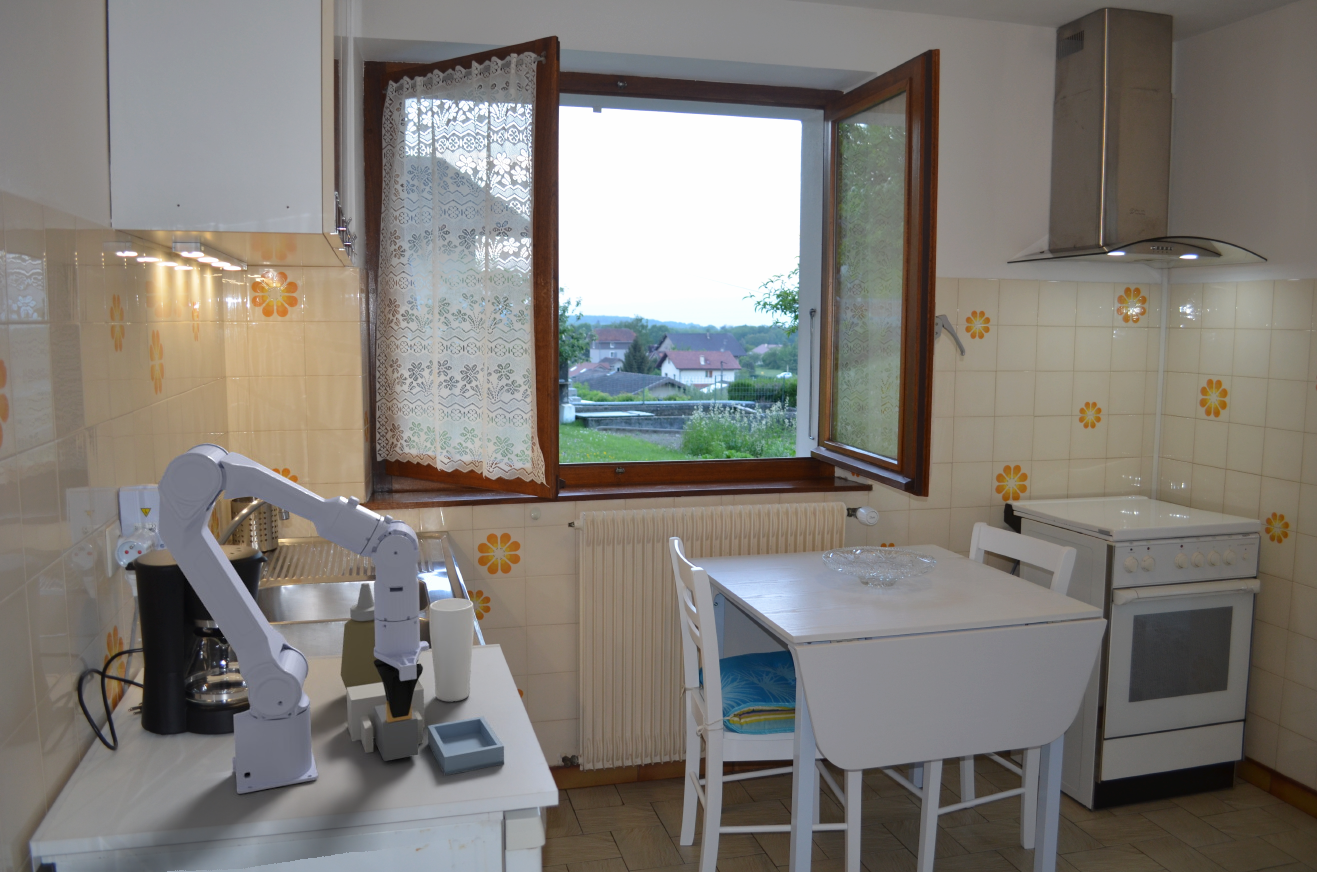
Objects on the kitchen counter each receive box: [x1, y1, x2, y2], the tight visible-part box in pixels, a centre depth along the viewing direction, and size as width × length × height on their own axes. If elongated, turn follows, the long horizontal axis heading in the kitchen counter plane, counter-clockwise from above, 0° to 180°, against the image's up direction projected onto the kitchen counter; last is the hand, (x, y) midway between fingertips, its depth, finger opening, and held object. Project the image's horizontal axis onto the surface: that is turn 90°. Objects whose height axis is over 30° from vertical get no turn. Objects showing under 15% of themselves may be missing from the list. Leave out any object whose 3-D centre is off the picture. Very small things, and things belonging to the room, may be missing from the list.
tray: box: [427, 715, 505, 776], centre depth 127 cm, size 8×10×2 cm
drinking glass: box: [428, 597, 475, 703], centre depth 146 cm, size 7×7×15 cm
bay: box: [346, 679, 425, 754], centre depth 133 cm, size 10×10×6 cm
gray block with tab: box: [374, 701, 419, 762], centre depth 127 cm, size 7×4×8 cm, turn 26°
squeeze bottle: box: [340, 582, 382, 691], centre depth 146 cm, size 8×8×18 cm
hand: (399, 713), depth 124 cm, fingers closed on gray block with tab
